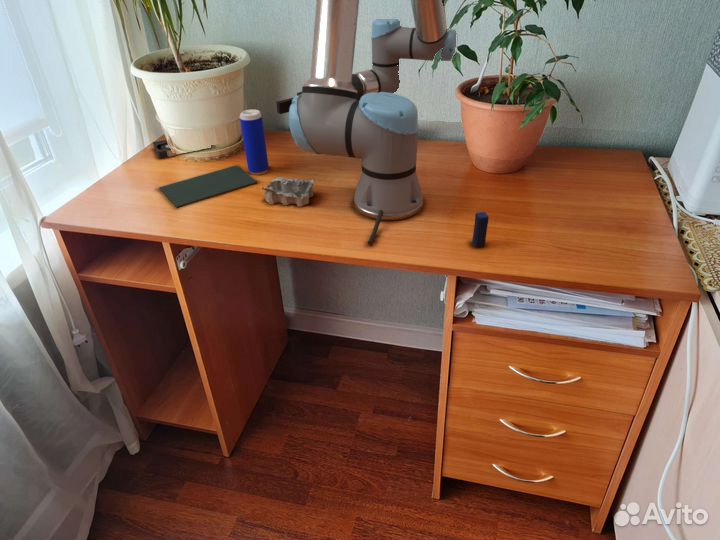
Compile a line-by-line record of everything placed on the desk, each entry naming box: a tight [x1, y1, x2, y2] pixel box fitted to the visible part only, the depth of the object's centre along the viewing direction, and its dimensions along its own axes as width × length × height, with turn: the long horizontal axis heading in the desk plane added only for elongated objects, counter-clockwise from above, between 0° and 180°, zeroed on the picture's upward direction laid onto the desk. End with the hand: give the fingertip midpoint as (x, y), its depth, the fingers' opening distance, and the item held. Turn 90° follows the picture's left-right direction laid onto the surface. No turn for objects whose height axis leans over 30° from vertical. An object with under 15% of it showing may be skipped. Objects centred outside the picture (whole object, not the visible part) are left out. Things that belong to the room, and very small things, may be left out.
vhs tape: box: [152, 139, 179, 160], centre depth 145 cm, size 14×8×2 cm, turn 117°
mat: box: [159, 165, 258, 209], centre depth 126 cm, size 20×12×1 cm, turn 126°
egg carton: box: [261, 176, 314, 207], centre depth 119 cm, size 11×8×4 cm
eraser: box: [472, 211, 490, 248], centre depth 100 cm, size 2×2×7 cm
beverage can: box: [239, 108, 270, 176], centre depth 128 cm, size 5×5×15 cm
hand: (278, 107), depth 127 cm, fingers closed
